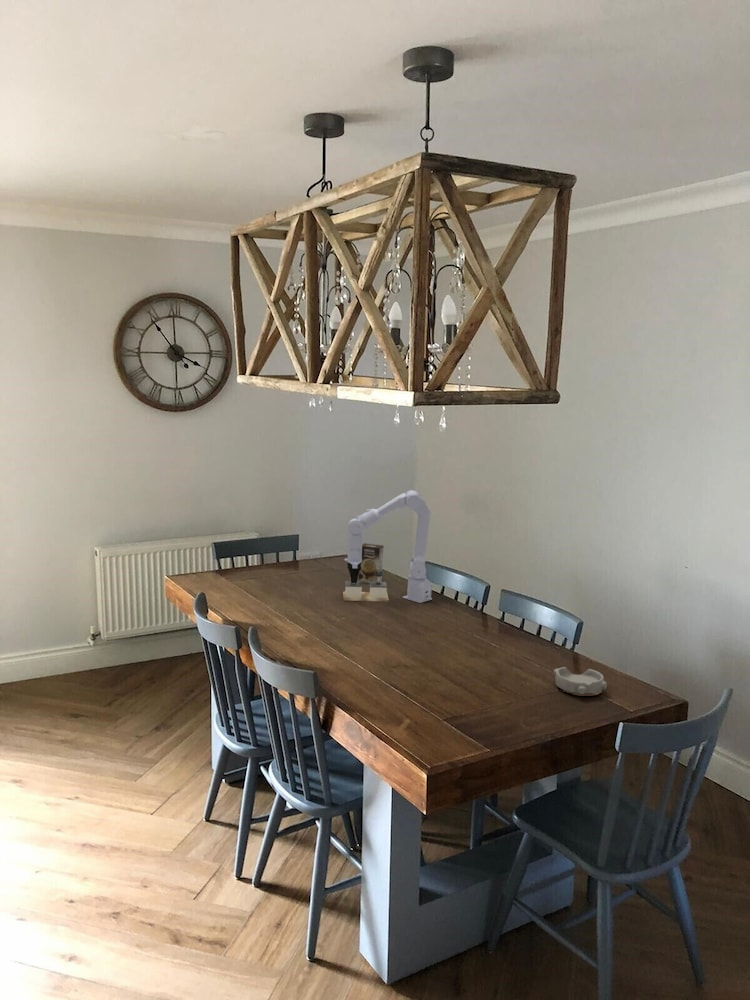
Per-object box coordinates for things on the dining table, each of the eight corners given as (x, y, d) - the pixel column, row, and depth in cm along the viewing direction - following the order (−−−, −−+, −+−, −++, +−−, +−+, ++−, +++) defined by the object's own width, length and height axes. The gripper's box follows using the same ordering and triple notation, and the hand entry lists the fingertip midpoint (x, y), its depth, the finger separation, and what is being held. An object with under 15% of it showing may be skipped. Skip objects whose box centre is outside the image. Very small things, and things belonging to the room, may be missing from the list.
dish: (547, 682, 247) (548, 666, 246) (588, 679, 250) (590, 664, 249) (569, 701, 233) (570, 685, 232) (612, 698, 236) (614, 682, 235)
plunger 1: (357, 590, 329) (357, 575, 328) (357, 592, 326) (358, 577, 325) (349, 590, 329) (349, 575, 328) (349, 592, 326) (350, 577, 325)
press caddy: (385, 593, 332) (386, 581, 331) (386, 598, 325) (387, 586, 324) (345, 592, 331) (345, 580, 330) (345, 597, 324) (345, 585, 323)
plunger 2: (382, 585, 329) (382, 570, 328) (382, 587, 326) (383, 572, 325) (374, 585, 329) (374, 570, 328) (374, 587, 326) (375, 572, 325)
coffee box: (358, 582, 351) (359, 545, 348) (362, 578, 357) (363, 542, 354) (378, 584, 348) (379, 547, 346) (382, 580, 354) (383, 544, 352)
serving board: (386, 594, 334) (387, 592, 333) (388, 601, 324) (388, 599, 324) (343, 593, 333) (343, 591, 332) (343, 600, 323) (343, 598, 323)
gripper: (344, 544, 331) (343, 576, 334) (345, 552, 317) (344, 586, 319) (361, 544, 332) (360, 576, 334) (363, 553, 318) (361, 586, 320)
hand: (353, 581), depth 327 cm, fingers closed on plunger 1, 3 cm apart
